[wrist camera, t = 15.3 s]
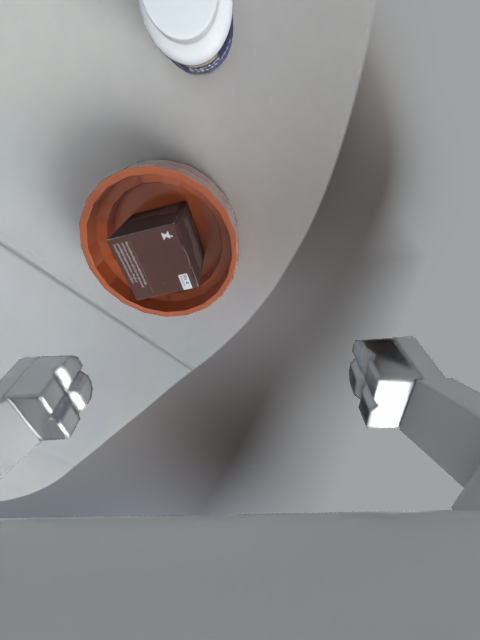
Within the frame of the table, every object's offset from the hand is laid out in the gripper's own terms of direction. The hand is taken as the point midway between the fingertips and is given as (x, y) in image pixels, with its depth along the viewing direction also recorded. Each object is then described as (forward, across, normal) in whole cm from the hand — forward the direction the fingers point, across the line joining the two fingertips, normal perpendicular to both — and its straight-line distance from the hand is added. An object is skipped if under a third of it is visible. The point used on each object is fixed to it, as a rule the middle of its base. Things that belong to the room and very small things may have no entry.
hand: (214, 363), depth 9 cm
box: (+24, +7, +4) cm, 25 cm away
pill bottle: (+25, +2, -11) cm, 27 cm away
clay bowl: (+24, +7, +4) cm, 26 cm away
